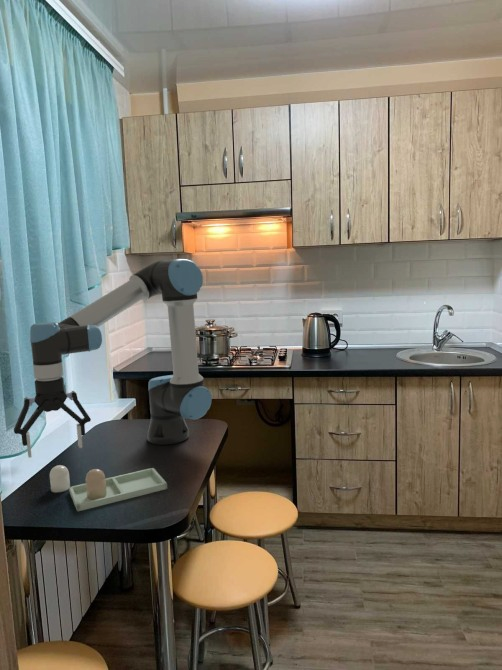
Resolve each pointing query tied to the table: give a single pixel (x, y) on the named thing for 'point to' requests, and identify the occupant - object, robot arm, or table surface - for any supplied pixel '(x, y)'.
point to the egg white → (59, 479)
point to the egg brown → (95, 484)
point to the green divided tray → (120, 488)
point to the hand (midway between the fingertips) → (55, 451)
